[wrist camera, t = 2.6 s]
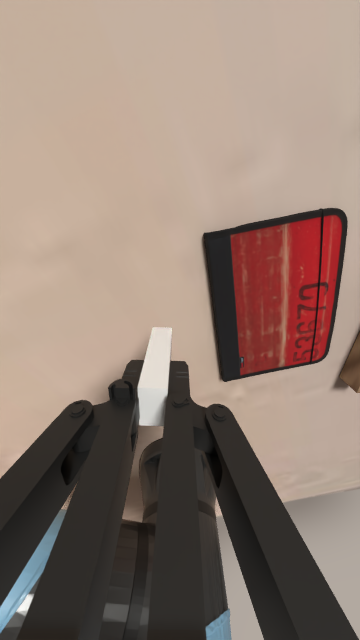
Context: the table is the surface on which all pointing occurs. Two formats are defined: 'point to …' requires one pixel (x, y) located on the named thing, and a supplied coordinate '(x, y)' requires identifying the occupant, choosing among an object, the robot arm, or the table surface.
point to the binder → (276, 290)
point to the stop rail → (353, 367)
